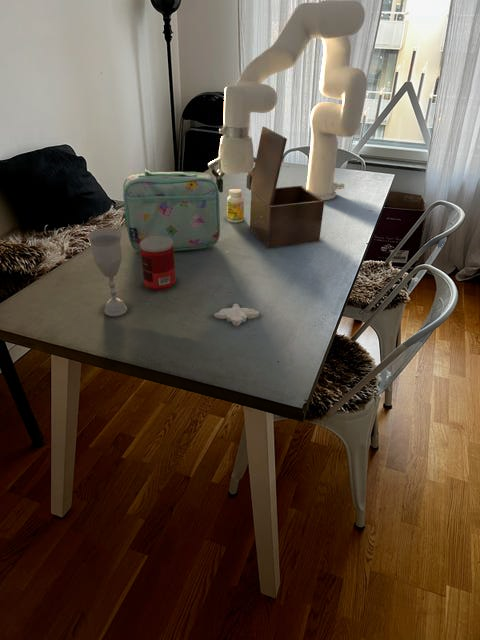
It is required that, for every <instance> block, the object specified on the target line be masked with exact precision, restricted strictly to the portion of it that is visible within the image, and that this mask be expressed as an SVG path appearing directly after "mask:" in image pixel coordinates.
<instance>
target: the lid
mask: <svg viewBox="0 0 480 640" xmlns="http://www.w3.org/2000/svg"><path fill="white" fill-rule="evenodd" d="M287 141H288V138H287V137H285V136H283V135H281V134H279V133H277V132H275V131H274V130H272V129H270V128H268V127H267V126H262V127H261V131H260V138H259V142H258V147H257V152H256V157H255V158H256V162H254V167H253V168H254V172H253V177H252V182H251V187H250V189H251V190H252V191H253V192H255V193H256V194H257V195H258V196H259V197H260V198H262V199H263V200H264V201H265V202H266V203H267V204H269V205H272V203H273V199H274V195H275V190H276V188H277V186H278V181H279V177H280V172H281V168H282V163H283V159H284V154H285V151H286V146H287ZM251 190H250V191H251Z"/></svg>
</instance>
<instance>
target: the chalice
mask: <svg viewBox="0 0 480 640" xmlns="http://www.w3.org/2000/svg"><path fill="white" fill-rule="evenodd" d="M122 235H123V234H122V232H121V231H120V230H119V229H116V228H99V229H95V230H93V231H91V232H89V233H88V235H87V239H88V241H89V242H90V246H91V253H92V259H93V261H94V263H95V265H96V266H97V268H98V270H99V271H100V272H101V273H102V275H103V276H104V277H106V278H108V283H107V285H108V286H109V290H108V293H109V294H110V295H111V298H109V299H107V301H106V303H105V307H104V310H103V311H104V312H103V313H104V314H105V315H107V316H110V317H118V316H121V315H124V314H126V312H127V311H128V307H127V305H126V304H125V303H124V301H123V299H121V298H119V297H117V292H118V290H117V289H116V288H115V286H116V282H115V279H114V277H116V276H117V274H118V272H119V270H120V266H121V264H122V258H123V252H122V245H121V238H122Z"/></svg>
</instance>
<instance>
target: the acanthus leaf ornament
mask: <svg viewBox="0 0 480 640" xmlns="http://www.w3.org/2000/svg"><path fill="white" fill-rule="evenodd" d="M259 315H260V311H258V310H255V309H254V308H248V307H240V305H239V304H238V303H234V304H232V306H231V307H227V308H222V309H219V311H218V312H215V313H214V314H213V317H214V318H217V319H221V320H224V319H226V321H227V322H231V323H232V325H233V326H235V327H238V326H240V325H241V323H245V322H246V321H247V319H255V318H258V317H259Z"/></svg>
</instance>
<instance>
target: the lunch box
mask: <svg viewBox="0 0 480 640" xmlns="http://www.w3.org/2000/svg"><path fill="white" fill-rule="evenodd" d="M122 185H123V186H122V187H123V188H122V191H123V192H122V197H123V209H122V211H123V212H124V213H122V216H121V220H120V222H123V220H124V223H125V228H126V231H127V235H128V240H129V243H130V244H131V247H132V248H133V249H134V250H135V251H137V252H139V253H141V252H140V242H141V241H142V240H143V239H145V238H148V237H152V236H165V237H169V238H171V239H172V240H173V245H174V252H180V251H181V252H182V251H192V250H193V251H194V250H201V249H202V250H203V249H206V248H210V247H212V246H214V245H215V244H217V243H218V242H219V239H220V234H221V210H220V192H219V190H218V186H217V184H216V181H215V180H214V178H213V177H212V176H211V175H210V174H208V173H205V172H200V171H199V172H197V171H155V172H153V171H152V172H150V171H149V170H148V169H144V171H143V172H140V173H136V174H133V175H130V176H128V177H126V178H125V180H124V182H123V184H122Z"/></svg>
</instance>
